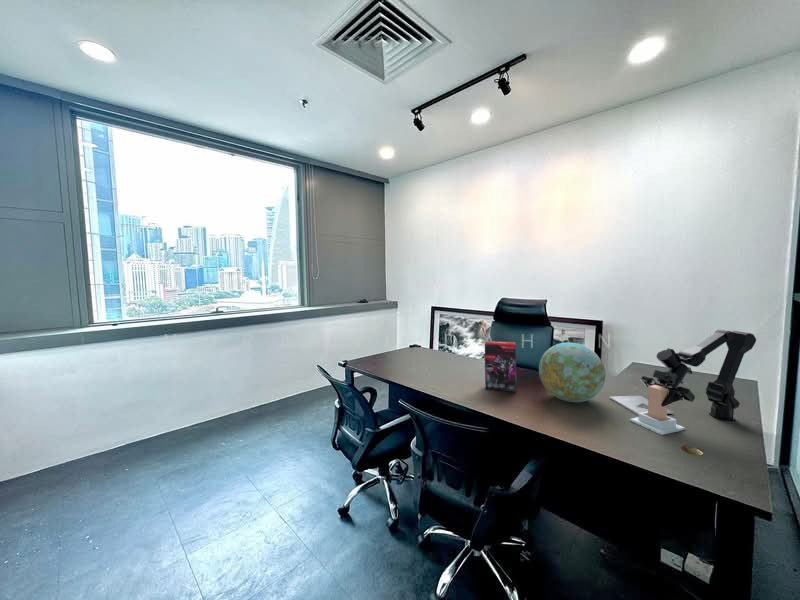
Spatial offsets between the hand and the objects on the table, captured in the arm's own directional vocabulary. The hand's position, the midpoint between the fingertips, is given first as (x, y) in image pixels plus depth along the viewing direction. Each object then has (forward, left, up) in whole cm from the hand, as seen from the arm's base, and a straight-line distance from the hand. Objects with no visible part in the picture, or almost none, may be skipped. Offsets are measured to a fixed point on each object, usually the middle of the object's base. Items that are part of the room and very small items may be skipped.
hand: (655, 403), depth 136 cm
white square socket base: (-1, -1, -10) cm, 10 cm away
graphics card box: (+58, -39, -10) cm, 70 cm away
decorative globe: (+25, -26, -10) cm, 37 cm away
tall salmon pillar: (-1, -1, -7) cm, 7 cm away
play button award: (-5, -21, -11) cm, 24 cm away
